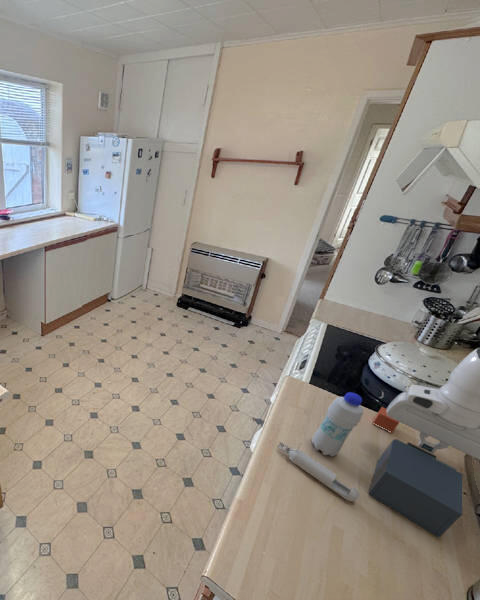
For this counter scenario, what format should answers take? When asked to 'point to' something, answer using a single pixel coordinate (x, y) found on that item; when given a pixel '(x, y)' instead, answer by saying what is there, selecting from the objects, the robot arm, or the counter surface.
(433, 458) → the drawer
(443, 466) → the cabinet
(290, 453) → the white cylindrical device
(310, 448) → the counter surface
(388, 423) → the block
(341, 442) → the bottle
